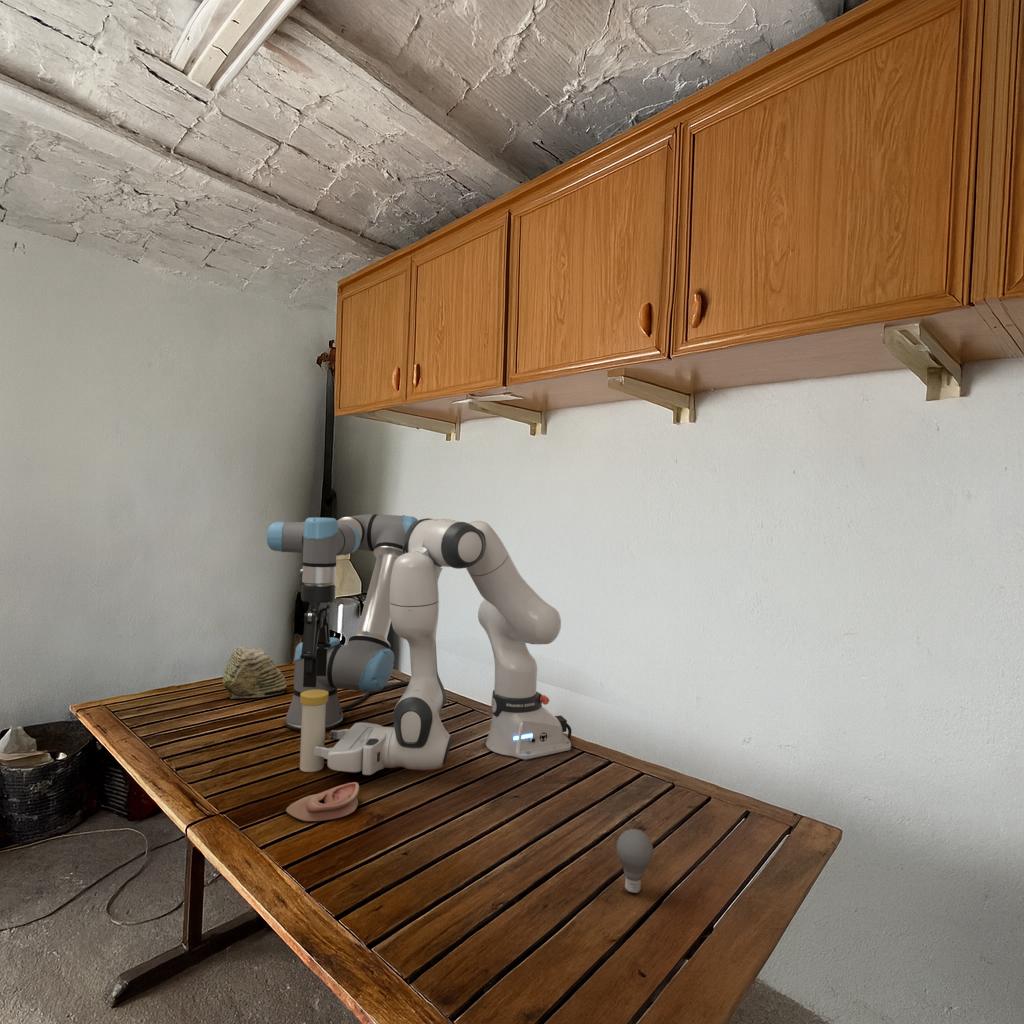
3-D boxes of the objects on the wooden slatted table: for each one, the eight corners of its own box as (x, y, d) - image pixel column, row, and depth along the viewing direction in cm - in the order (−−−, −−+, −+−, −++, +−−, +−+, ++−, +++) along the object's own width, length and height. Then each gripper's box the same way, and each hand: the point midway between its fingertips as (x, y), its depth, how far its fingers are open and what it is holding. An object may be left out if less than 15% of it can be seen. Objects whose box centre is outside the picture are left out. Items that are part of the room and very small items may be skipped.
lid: (301, 706, 144) (302, 698, 143) (298, 698, 149) (298, 690, 149) (330, 703, 146) (330, 696, 146) (325, 695, 152) (326, 688, 152)
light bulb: (610, 879, 108) (613, 822, 108) (644, 879, 109) (647, 822, 109) (619, 902, 102) (622, 840, 102) (655, 901, 103) (658, 840, 103)
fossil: (218, 695, 195) (220, 647, 195) (278, 685, 208) (279, 640, 207) (228, 703, 189) (230, 653, 188) (289, 692, 201) (290, 645, 201)
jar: (301, 773, 144) (303, 700, 144) (298, 764, 149) (300, 693, 149) (325, 770, 147) (328, 697, 146) (321, 761, 152) (324, 690, 151)
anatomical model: (278, 797, 124) (308, 772, 135) (277, 817, 124) (307, 791, 136) (340, 806, 122) (366, 781, 133) (339, 827, 122) (365, 799, 133)
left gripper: (314, 577, 158) (311, 668, 158) (288, 589, 136) (284, 694, 137) (345, 578, 158) (341, 669, 158) (323, 591, 137) (319, 695, 137)
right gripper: (392, 717, 157) (338, 714, 158) (368, 749, 137) (306, 745, 137) (391, 743, 157) (337, 739, 158) (367, 778, 137) (304, 774, 138)
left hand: (315, 680), depth 148 cm, fingers open, 8 cm apart
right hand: (322, 742), depth 148 cm, fingers open, 8 cm apart
